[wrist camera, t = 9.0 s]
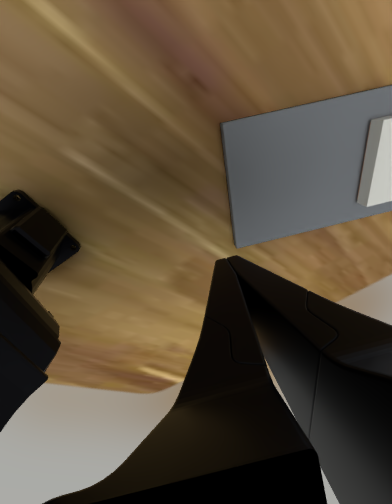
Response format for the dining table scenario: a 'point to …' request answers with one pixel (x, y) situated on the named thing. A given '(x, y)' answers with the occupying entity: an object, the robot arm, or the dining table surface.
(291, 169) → the mat
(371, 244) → the dining table surface
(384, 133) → the tile
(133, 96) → the dining table surface
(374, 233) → the dining table surface
